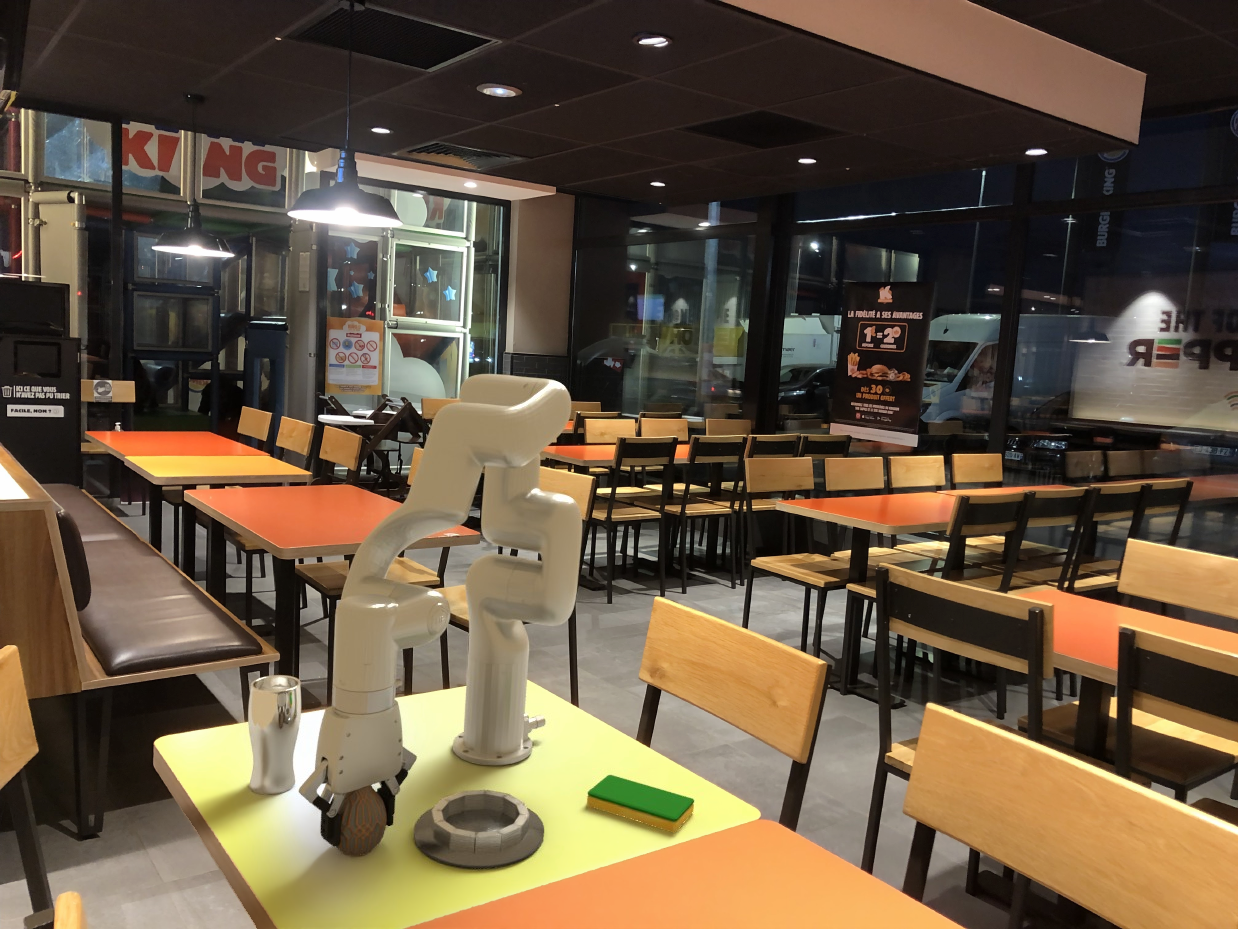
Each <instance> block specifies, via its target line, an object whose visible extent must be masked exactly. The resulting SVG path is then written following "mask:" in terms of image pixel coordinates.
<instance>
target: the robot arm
mask: <svg viewBox="0 0 1238 929" xmlns="http://www.w3.org/2000/svg"><path fill="white" fill-rule="evenodd" d="M571 413H572V399H571V395H570V392H569V391H568V389H567V388H566V386H565V385H564V384H562V383H561V382H559V381H556V380H554V379H548V378H539V377H530V376H529V377H527V376H516V375H508V374H500V373H499V374H496V373H481V374H480V373H479V374H475V375H472V376H469V377H468V378H466V379H465V380H464V381H463V382H462V384H461V386H460V390H459V402H452V403H448V404H446V405H443V407H440V409H439V410H438V411H437V413H436V414H435V416H434V418H433V420H432V424H431V426H430V430H429V432H428V435H427V437H426V438H427V439H426V441H425V444H424V446H423V447H424V448H423V450H422V453H421V455H420V456H421V457H420V459H419V462H418V465H417V468H416V471H415V475H414V477H413V479H412V483H411V485H410V489H409V492H408V494H407V497H406V498H405V500H404V502H403V503H402V504H401V505H400V506H398V507H397V508H396V509H395V510H393V511H392V512H390V514H389V515H387V516H386V517H384V518H383V519H382V520H381V521H380V522H379V523H378V524H377V525H376V526H375V527H374V528H373V529H372V530H371V532H369V533H368V535H367V536H366V537H365V538H364V539H363V540H362V542H361V544H360V545H359V547H357V550H356V552H355V554H354V557H353V558H352V562H351V564H350V568H349V570H348V573H347V575H346V579H345V583H344V585H343V589H342V591H341V592H342V593H341V597H340V598H341V599H340V601H339V602H338V604H337V606H336V609H335V614H334V636H333V637H334V640H333V664H332V665H333V667H332V668H333V670H332V671H333V672H332V688H331V689H332V690H331V692H332V695H331V706H328V707H326V708H325V710H324V713H323V716H322V718H321V719H322V720H321V723H320V728H319V732H318V733H319V734H318V739H317V746H316V754H315V763H314V770H313V772H312V773H311V774H310V775H309V776H308V778H307V779H306V780H305V781H304V782H303V783H302V785H301V786H300V787H299V788H298V794H300V795H301V797H304V799H305V800H307V801H308V803H309V804H311V805H312V806H314V807H315V808H317V809H318V810H319V811H320V830H319V831H320V835H321V838H322V839H323V840H324V841H325V842H327V843H328V844H329V845H331V846H332V847H333V848H336V846H339V844H340V837H341V815H340V814H338V813H337V812H338V809H339V807H340V805H341V803H342V801H343V798H344V796H345V794H346V793H348V792H352V791H355V790H358V789H361V788H364V787H367V786H370V785H371V786H373V785H375V784H379V785H380V787H378V788H376V790H375V791H376V792H377V793H378V794H379V796H380V797H381V798H382V800H383V802H384V805H385V808H386V814H387V822H386V827H392V826H394V818H395V816H394V815H395V812H396V811H395V810H396V795H398V794H399V793H400V791H401V785H402V784H403V783H404V781H406V778H407V777H408V776H409V771H410V770H411V769H412V767H413V766H414V765H415V763H416V761H417V760H418V759H417V758H418V756H417V755H416V754H415V753H413V752H412V751H411V750H409V749H407V747H405V746H403V743H404V742H403V741H404V740H403V725H402V724H403V723H402V717H401V711H400V706H399V702H398V701H397V699H396V694H397V693H396V691H397V690H399V689H402V687H403V680H402V678H400V677H397V661H398V660H397V659H398V658H397V657H398V652H399V651H400V650H403V649H409V648H417V647H422V646H426V645H428V644H430V643H433V642H434V641H436V640H437V639H439V638H440V637H441V636H442V635H443V634H444V632H445V631H446V629H447V627H448V625H449V623H450V620H451V607H450V603H449V601H448V599H447V598H446V597H445V596H444V594H442V592H440V591H438V590H436V589H433V588H432V587H428V586H427V587H426V586H422V585H417V584H413V583H412V584H411V583H407V582H403V581H399V580H392V579H388V578H386V577H387V575H388V573H389V570H390V568H391V566H392V564H393V563H394V561H395V559H396V558H397V557H398V556H399V555H400V553H401V552H403V550H405V549H406V548H407V547H409V546H410V545H412V544H414V543H415V542H417V541H420V540H421V539H424V538H427V537H429V536H432V535H435V534H438V533H441V532H443V531H447V530H450V529H453V528H456V527H458V526H461V525H462V524H464V523H465V522H466V521H467V520H468V518H469V515H470V510H471V507H472V504H473V501H474V497H475V495H476V492H477V489H478V486H479V483H480V482H479V481H480V478H481V476H482V472H483V469H484V480H483V490H482V491H483V492H482V505H481V521H480V525H481V526H480V527H481V533H482V536H483V537H484V539H485V540H486V541H487V542H488V543H490V544H493V545H495V546H499V547H503V548H508V549H514V550H520V551H523V552H524V551H526V552H530V553H538V554H540V557H541V560H535V559H530V558H527V557H520V556H515V555H507V554H499V553H498V554H497V553H492V554H486V555H482V556H480V557H479V558H477V559H476V560H474V561H473V562H472V564H471V565H470V566H469V568H468V570H467V573H466V577H465V598H466V603H467V604H466V605H467V610H468V633H469V634H468V651H467V652H468V653H467V667H466V668H467V669H466V683H465V684H466V685H465V686H466V687H465V699H464V700H465V703H464V720H463V722H464V723H463V724H464V725H463V731H462V732H461V733H458V734H457V735H456V736H455V737H454V739H453V742H452V750H453V752H454V754H455V755H456V756H458V757H459V758H460V759H462V760H463V761H466V762H469V763H472V764H475V765H483V766H505V765H510V764H515V763H519V762H520V761H524V760H525V759H526V758H528V757H529V756H530V755H531V753H532V751H533V740H532V739H531V737H529V734H531V733H532V731H533V730H536V729H539V728H542V727H545V725H546V718H545V717H544V715H542V714H539V715H536V716H533V717H529V714H527V713H526V702H527V701H526V700H527V683H528V670H529V657H530V643H529V636H528V633H527V631H526V630H527V629H526V627H525V626H524V623H523V622H526V623H531V624H536V625H537V624H538V625H543V626H551V627H556V626H561V625H562V624H563V625H564V623H566V622H567V621H568V619H570V617H571V615H572V613H573V610H574V608H575V603H576V599H577V592H578V582H579V570H580V560H581V548H582V540H583V539H582V537H583V518H582V512H581V509H580V506H579V504H578V503H577V502H576V500H575V499H574V498H572V497H571V496H569V495H567V494H564V493H561V492H559V493H558V492H555V491H554V492H553V491H545V490H541V488H540V472H541V471H540V470H541V454H540V453H541V452H543V451H544V450H545V449H546V448H547V447H548V446H550V445H551V444H552V443H553V442H554V441H555V440H556V439H557V438H558V437H559V436H560V435H561V433H562V432H563V431H564V430H565V429H566V426H567V424H569V421H570V418H571ZM322 784H323V785H325V786H324V788H323V791H322V793H321V795H320V794H319V793H318V789H319V788H320V787H321V785H322Z"/></svg>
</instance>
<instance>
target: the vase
mask: <svg viewBox="0 0 1238 929" xmlns="http://www.w3.org/2000/svg"><path fill="white" fill-rule="evenodd" d="M376 791H377V790H375V789H374V788H373V785H370V786H367V787H364V788H361V789H358V790H355V791H352V792H348V793H346V794H345V796H344V798H343V801H342V803H341V805H340V807H339V809H338V812H337V813H338V814H340V815H341V837H340V844H339V846H336V847H335V848H336V849H337V850H338V851H340V852H341V853H342V854H344V855H346V856H349V857H361V856H365V855H368V854H369V853H371V852H373V850H375V848H377V846H379V844H380V843H381V841H382V839H383V837H384V835H385V832H386V828H387V826H386V822H387V814H386V808H385V805H384V802H383V800H382V798H381V797H380V796H379V794H378V793H377V792H376Z"/></svg>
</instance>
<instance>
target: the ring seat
mask: <svg viewBox="0 0 1238 929" xmlns="http://www.w3.org/2000/svg"><path fill="white" fill-rule="evenodd" d="M544 838H545V826H544V823H543V821H542V819H541V817H539V815H538V814H537V813H536V812H534V811H533V810H531V809H530V808H529V807H527V805H526V803H525V802H524V801H522V800H521V799H519V798H517V797H515V796H513V795H511V794H510V793H508V792H506V793H505V792H501V791H496V790H490V789H476V790H475V789H474V790H462V791H459V792H456V793H454V794H451V795H447V796H445V797H442V798H441V799H440V800H439V801H438V802H437V803H436V804H435V805H434V806H433V807H431V808H429V809H427V810H426V811H425V812H423V814H421V815H420V817H418V819H417V820H416V822H415V825H414V828H413V841H414V845H415V846H416V847H417V849H418V850H419V852H421V854H423V855H424V856H425V857H427V858H428V859H430V860H432V861H434V862H437V863H439V864H442V865H445V866H448V867H452V868H458V869H465V870H489V869H490V870H492V869H498V868H504V867H509V866H511V865H515V864H518V863H520V862H522V861H524V860H526V859H528V858H530V857H531V856H533V855H534V854H535V853H536V852H537V851H538V850H539V849H540V847H541V846H542V844H543V842H544Z"/></svg>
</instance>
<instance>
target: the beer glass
mask: <svg viewBox="0 0 1238 929" xmlns="http://www.w3.org/2000/svg"><path fill="white" fill-rule="evenodd" d="M301 690H302V689H301V681H300V679H299V678H297V677H294V676H291V675H286V674H285V675H283V674H282V675H281V674H278V675H277V674H275V675H274V674H273V675H267V676H263V677H262V676H261V677H259V678H256V679H255V680H253V681H252V682H251V683H250V691H249V699H248V710H247V711H248V712H247V714H248V715H247V716H248V717H247V718H248V720H247V722H248V725H247V726H248V733H249V737H250V738H249V740H250V745H251V751H252V760H253V762H252V770H251V771H252V772H251V776H250V780H249V789H250V790H251V791H252V792H253V793H255V794H258V795H266V796H270V795H271V796H272V795H279V794H283V793H285V792H288V791H289V790H291V789H292V788H293V787H294V786H295V785H296V775H295V770H294V753H295V748H296V743H297V739H298V734H299V730H300V723H301V716H302V692H301Z"/></svg>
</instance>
